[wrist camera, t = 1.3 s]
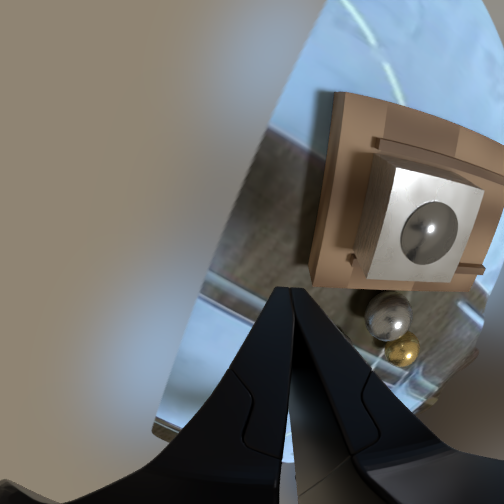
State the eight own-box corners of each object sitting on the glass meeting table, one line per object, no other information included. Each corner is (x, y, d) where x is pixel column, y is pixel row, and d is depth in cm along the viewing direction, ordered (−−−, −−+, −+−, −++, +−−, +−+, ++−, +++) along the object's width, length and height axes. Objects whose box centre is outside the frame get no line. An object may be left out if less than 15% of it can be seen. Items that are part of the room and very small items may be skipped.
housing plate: (455, 274, 20) (472, 296, 18) (308, 265, 20) (313, 292, 18) (497, 144, 14) (523, 155, 12) (334, 92, 14) (348, 91, 12)
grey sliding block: (430, 256, 17) (451, 284, 14) (352, 249, 17) (367, 280, 14) (456, 173, 14) (486, 191, 11) (373, 153, 14) (398, 168, 11)
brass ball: (404, 346, 25) (414, 372, 22) (375, 347, 25) (384, 375, 22) (418, 322, 23) (430, 349, 20) (388, 323, 23) (399, 351, 20)
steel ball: (393, 317, 23) (407, 350, 20) (353, 317, 23) (364, 352, 20) (409, 281, 21) (427, 314, 18) (367, 279, 21) (382, 314, 18)
